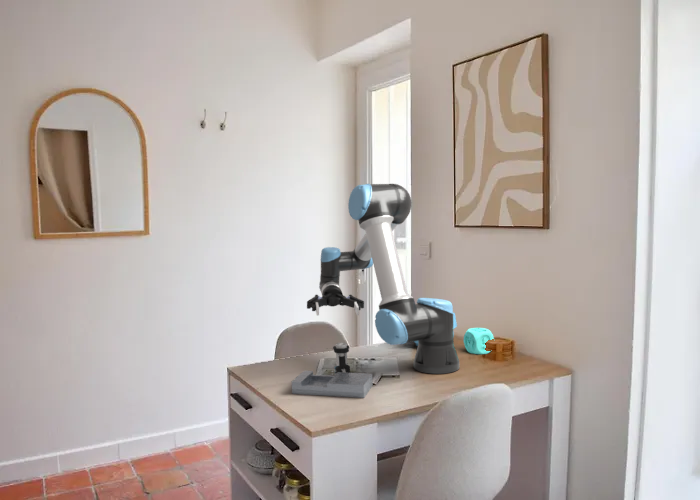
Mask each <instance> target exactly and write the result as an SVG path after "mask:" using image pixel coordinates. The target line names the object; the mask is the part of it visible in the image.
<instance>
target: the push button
mask: <svg viewBox="0 0 700 500" xmlns="http://www.w3.org/2000/svg"><path fill="white" fill-rule="evenodd" d="M332 349H333V352H334V353H335V357H336V358H335V359H336V364H335V366H334V370H330V376H334V375H335V374H336V373H337V372H345V373H351V366H350V365H349V363H348V353H349V352H350V345H347V343H346V342H337V343H335V345H334V346H333V347H332Z"/></svg>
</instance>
